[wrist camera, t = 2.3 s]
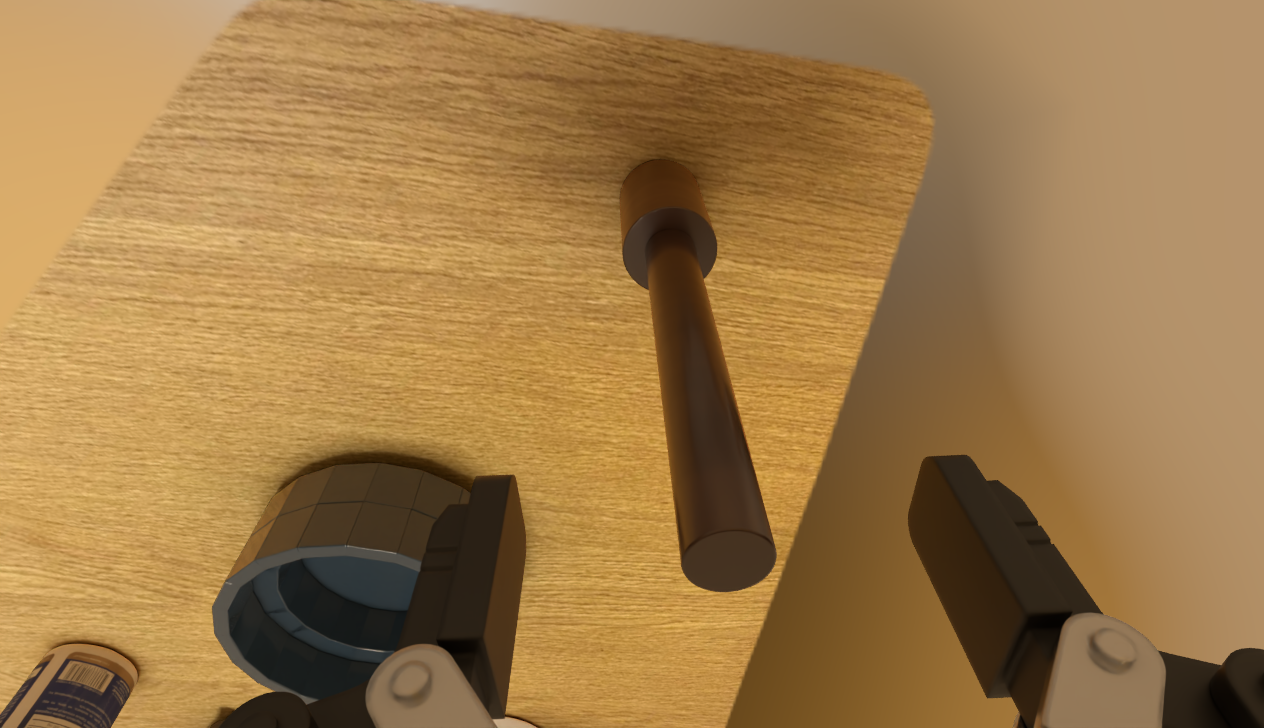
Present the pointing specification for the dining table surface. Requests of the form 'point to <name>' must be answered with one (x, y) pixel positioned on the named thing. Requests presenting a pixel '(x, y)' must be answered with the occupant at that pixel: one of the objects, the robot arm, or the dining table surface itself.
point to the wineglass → (512, 723)
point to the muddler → (695, 382)
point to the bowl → (330, 576)
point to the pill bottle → (72, 690)
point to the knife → (217, 724)
